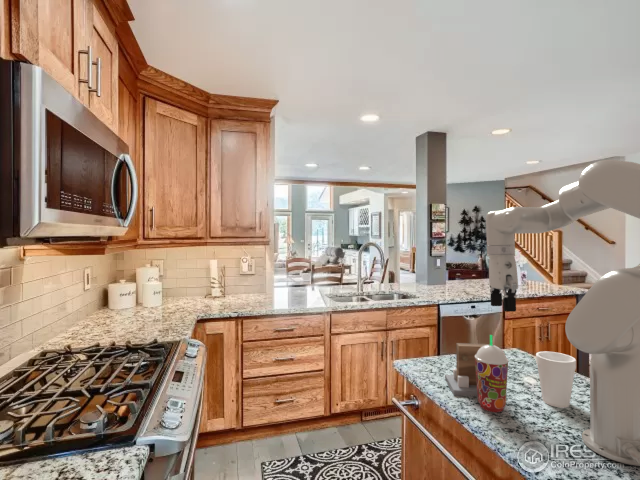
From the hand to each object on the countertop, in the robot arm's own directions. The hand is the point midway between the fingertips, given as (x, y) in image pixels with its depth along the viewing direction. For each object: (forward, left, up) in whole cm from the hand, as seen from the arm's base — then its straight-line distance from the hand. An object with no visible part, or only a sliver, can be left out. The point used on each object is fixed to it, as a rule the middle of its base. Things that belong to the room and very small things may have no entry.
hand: (502, 308), depth 105 cm
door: (+3, +8, -24) cm, 25 cm away
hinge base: (+3, +8, -26) cm, 27 cm away
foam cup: (-4, -12, -26) cm, 29 cm away
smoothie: (-10, +7, -26) cm, 28 cm away
